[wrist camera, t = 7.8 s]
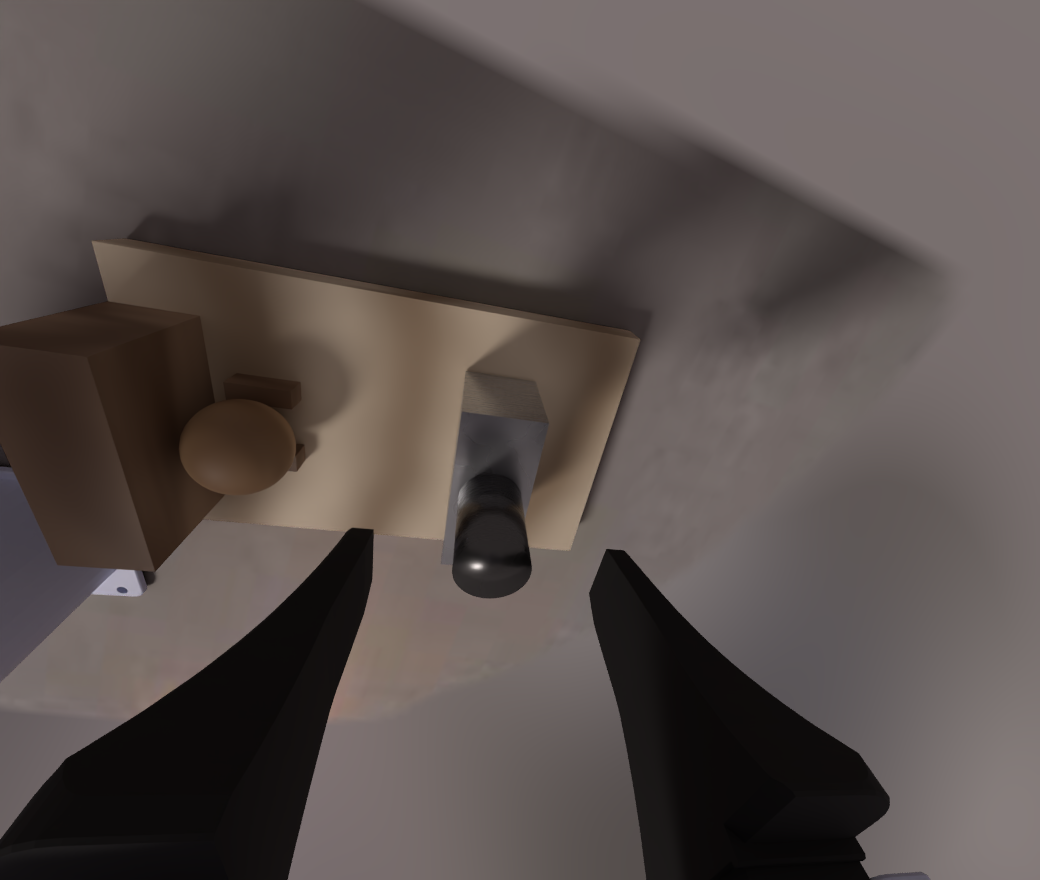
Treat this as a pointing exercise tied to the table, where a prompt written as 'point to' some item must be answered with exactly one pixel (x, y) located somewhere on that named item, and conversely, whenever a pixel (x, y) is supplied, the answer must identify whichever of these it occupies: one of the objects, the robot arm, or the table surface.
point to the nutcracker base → (282, 402)
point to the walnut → (237, 447)
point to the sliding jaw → (493, 484)
